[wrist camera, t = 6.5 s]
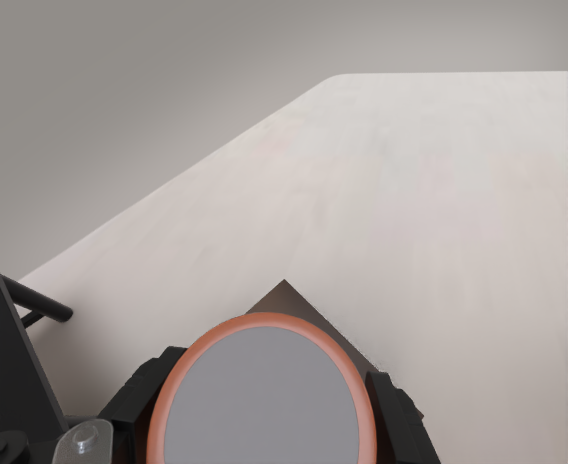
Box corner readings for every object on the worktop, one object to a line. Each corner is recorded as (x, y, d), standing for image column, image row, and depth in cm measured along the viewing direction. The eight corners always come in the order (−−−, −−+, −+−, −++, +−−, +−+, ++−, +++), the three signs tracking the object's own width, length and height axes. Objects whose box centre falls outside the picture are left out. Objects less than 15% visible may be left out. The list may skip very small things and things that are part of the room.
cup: (277, 334, 18) (270, 274, 10) (355, 421, 15) (425, 429, 8) (193, 416, 15) (101, 419, 8) (269, 534, 13) (246, 706, 5)
